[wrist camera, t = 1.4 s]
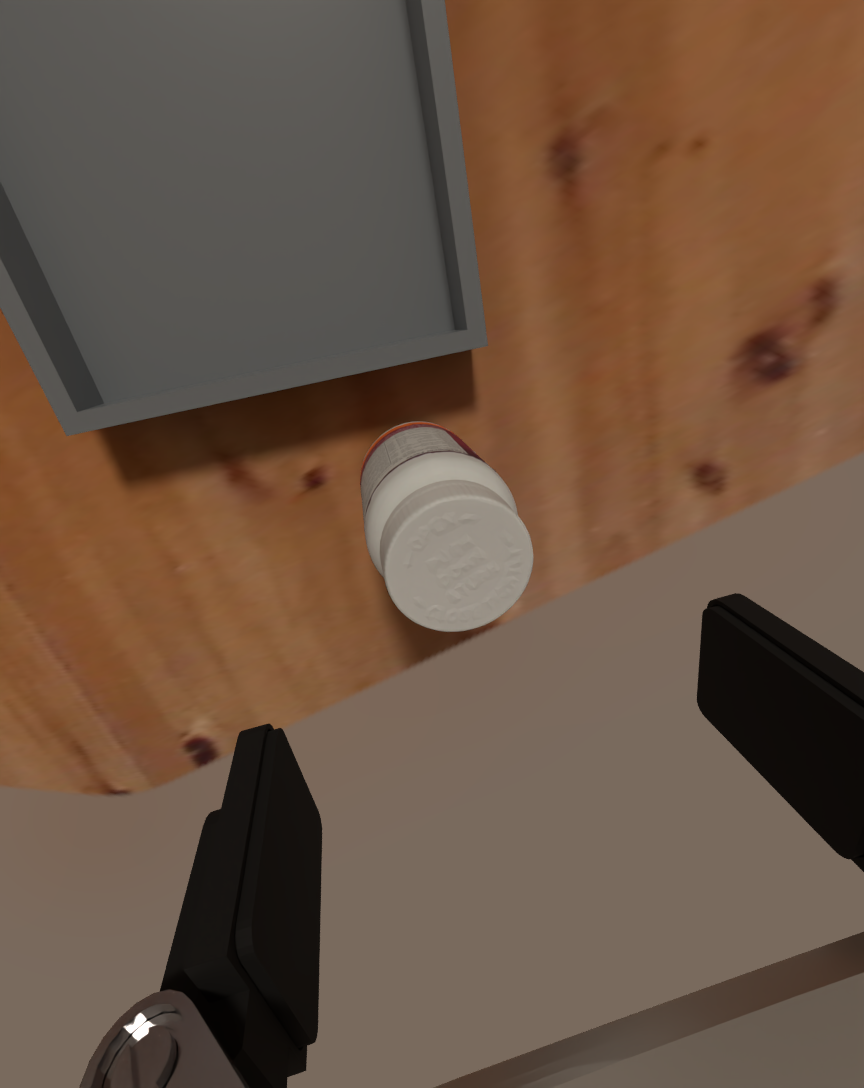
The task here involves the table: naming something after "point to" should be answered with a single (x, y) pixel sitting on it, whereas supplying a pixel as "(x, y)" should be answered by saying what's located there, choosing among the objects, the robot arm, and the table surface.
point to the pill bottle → (442, 529)
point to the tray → (228, 198)
